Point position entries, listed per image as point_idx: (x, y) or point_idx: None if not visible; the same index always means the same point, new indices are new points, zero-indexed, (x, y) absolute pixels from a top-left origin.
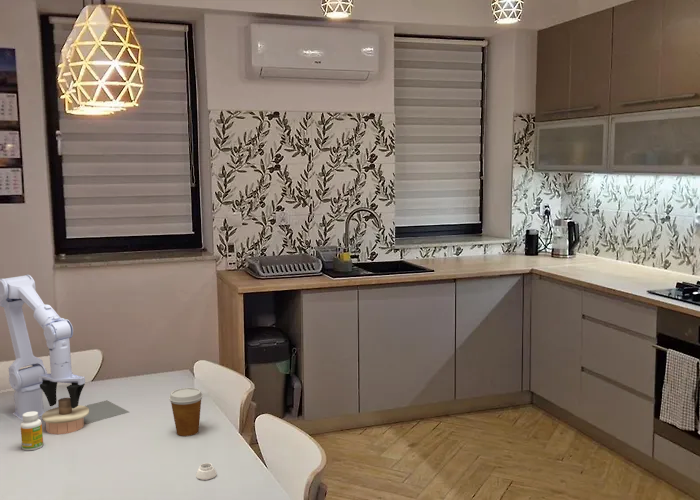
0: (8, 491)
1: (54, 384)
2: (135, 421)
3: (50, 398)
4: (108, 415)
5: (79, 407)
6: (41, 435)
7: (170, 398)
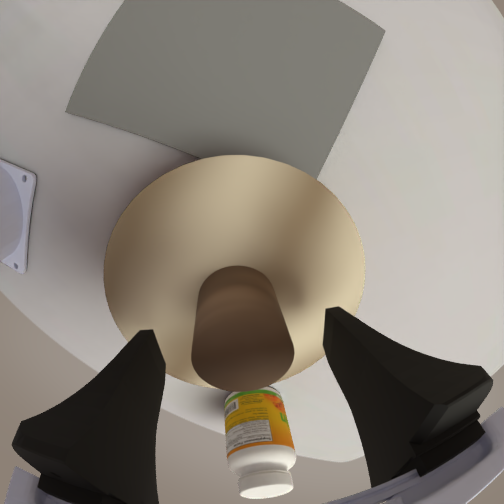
0: (344, 461)
1: (111, 458)
2: (446, 114)
3: (157, 407)
4: (331, 76)
5: (254, 195)
6: (287, 421)
7: None
